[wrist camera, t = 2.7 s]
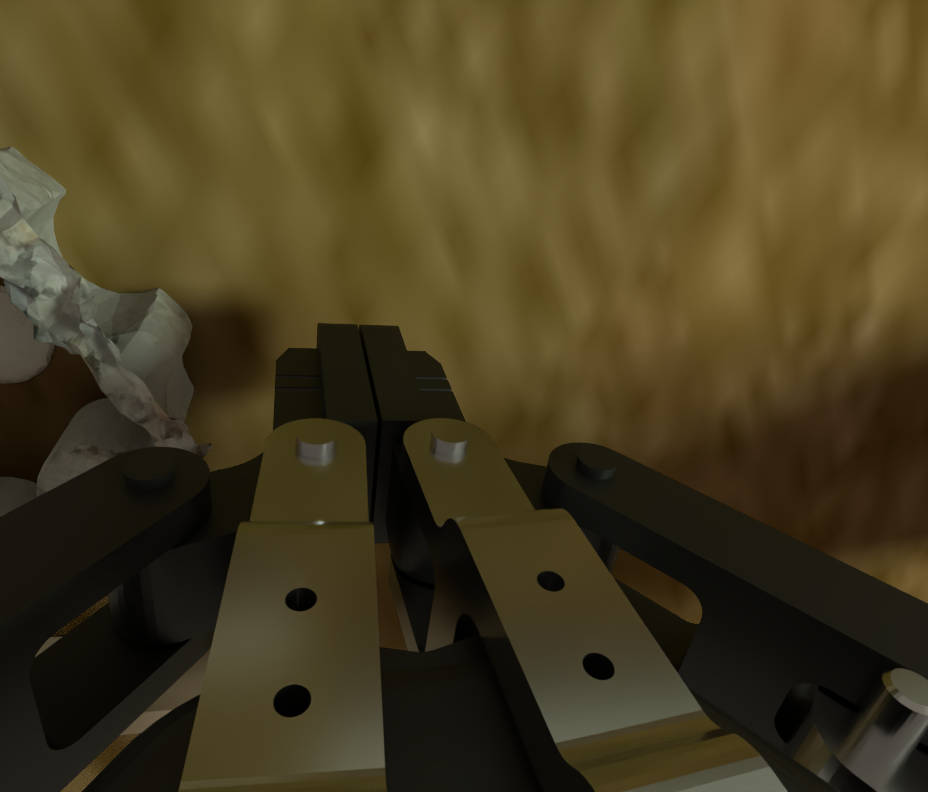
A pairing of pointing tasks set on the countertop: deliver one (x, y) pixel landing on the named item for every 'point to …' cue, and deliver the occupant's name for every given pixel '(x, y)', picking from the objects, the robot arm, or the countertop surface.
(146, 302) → the egg carton
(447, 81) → the countertop surface
